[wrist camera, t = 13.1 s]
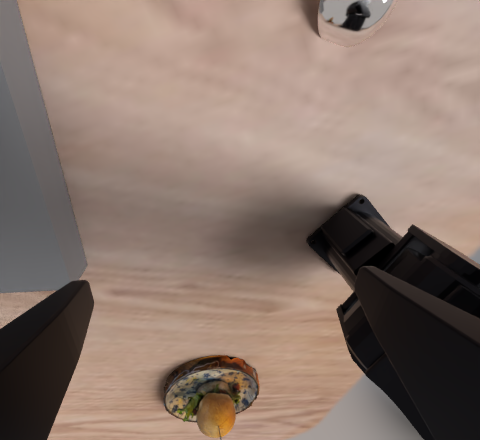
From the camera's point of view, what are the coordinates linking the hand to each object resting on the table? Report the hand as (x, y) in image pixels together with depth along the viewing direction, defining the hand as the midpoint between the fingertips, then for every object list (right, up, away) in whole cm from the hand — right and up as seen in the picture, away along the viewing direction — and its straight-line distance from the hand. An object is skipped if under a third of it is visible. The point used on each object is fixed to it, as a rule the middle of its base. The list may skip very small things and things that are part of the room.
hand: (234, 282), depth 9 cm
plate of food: (-3, -19, +25) cm, 31 cm away
